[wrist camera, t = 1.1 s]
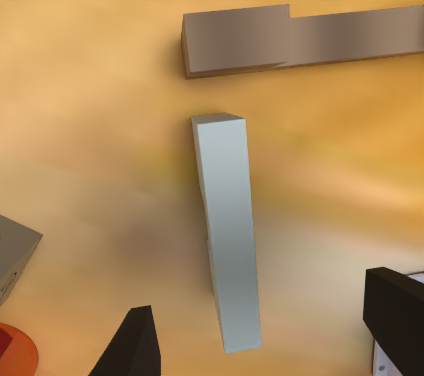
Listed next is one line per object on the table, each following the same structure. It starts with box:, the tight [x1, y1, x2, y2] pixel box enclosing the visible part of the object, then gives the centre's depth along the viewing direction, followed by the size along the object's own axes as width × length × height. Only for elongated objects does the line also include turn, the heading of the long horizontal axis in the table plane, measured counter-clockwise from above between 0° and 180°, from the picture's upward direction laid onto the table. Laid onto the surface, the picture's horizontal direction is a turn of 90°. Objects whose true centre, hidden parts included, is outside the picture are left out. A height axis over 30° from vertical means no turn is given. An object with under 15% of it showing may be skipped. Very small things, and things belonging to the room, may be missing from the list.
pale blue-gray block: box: [191, 113, 262, 354], centre depth 16 cm, size 12×2×5 cm, turn 6°
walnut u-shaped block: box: [181, 4, 424, 79], centre depth 14 cm, size 16×2×5 cm, turn 96°
